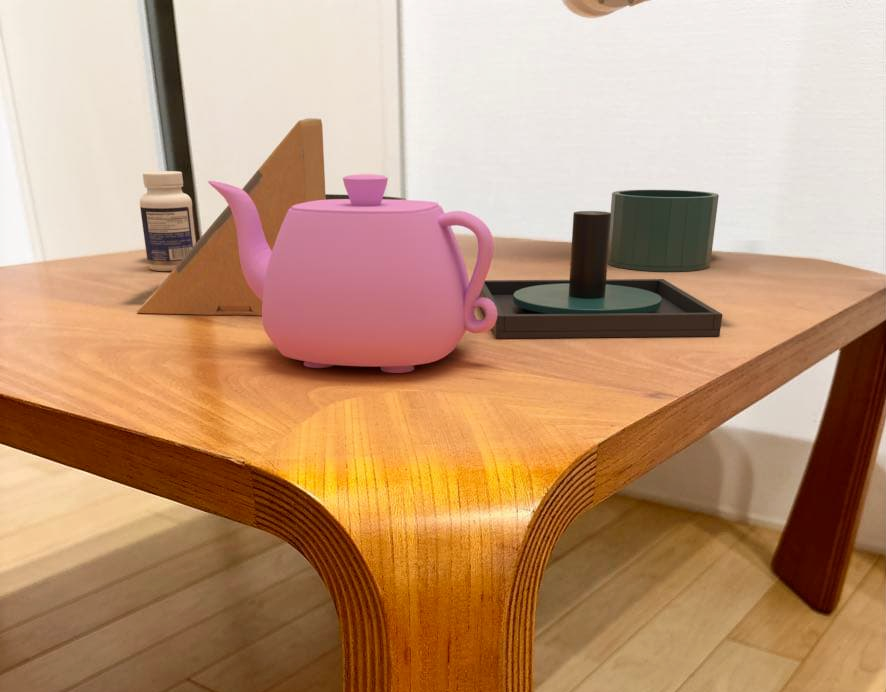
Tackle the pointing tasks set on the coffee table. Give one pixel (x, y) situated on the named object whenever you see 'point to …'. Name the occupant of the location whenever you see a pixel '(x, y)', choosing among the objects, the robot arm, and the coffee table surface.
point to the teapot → (364, 277)
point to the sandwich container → (216, 253)
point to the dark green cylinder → (662, 230)
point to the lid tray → (670, 320)
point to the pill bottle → (166, 220)
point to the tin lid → (587, 278)
